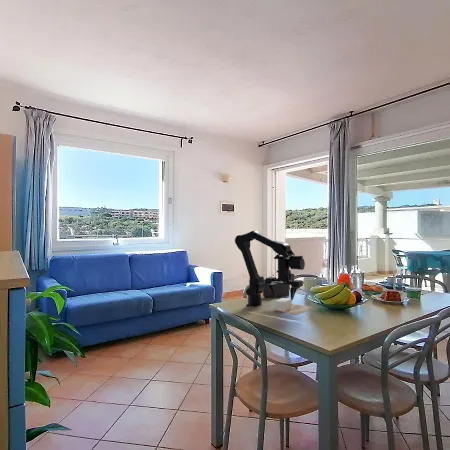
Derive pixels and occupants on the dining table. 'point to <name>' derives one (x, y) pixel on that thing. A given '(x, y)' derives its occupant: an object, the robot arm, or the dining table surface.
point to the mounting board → (295, 309)
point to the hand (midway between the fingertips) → (283, 299)
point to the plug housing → (283, 304)
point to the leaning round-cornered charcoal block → (280, 288)
